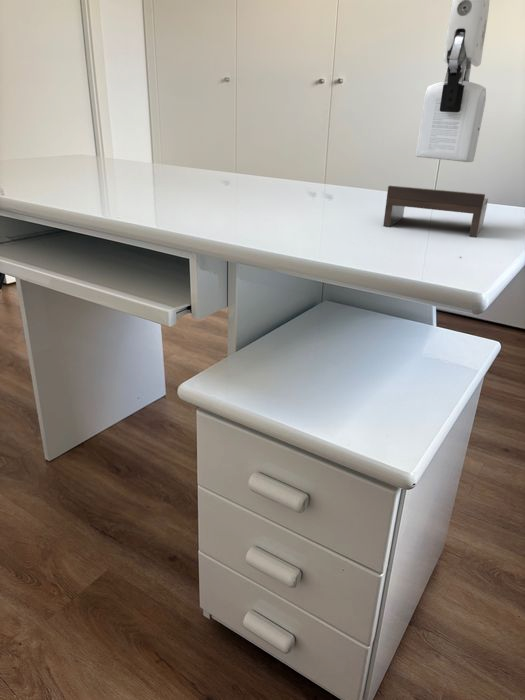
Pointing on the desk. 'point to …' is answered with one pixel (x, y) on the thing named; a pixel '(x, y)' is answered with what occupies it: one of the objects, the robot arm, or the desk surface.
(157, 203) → the desk surface
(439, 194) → the shelf
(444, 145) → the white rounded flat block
